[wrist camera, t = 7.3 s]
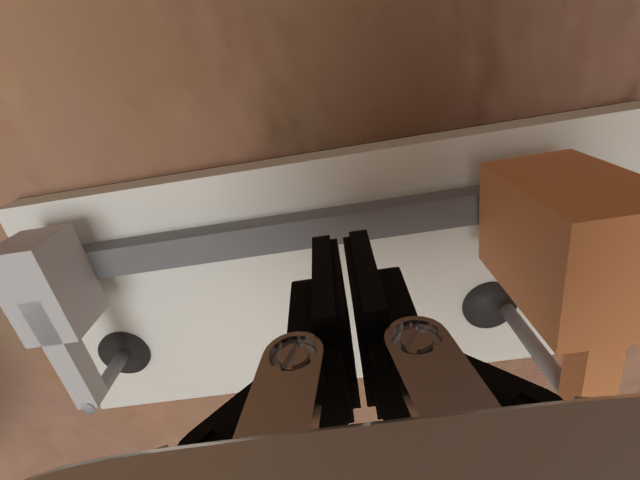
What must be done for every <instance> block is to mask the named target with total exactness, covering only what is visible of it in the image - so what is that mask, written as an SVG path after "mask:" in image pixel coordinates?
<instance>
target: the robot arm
mask: <svg viewBox="0 0 640 480" xmlns="http://www.w3.org/2000/svg"><path fill="white" fill-rule="evenodd" d="M343 243H344V250H345V257H346V264H347V271H348V278H349V285H350V291H351V298H352V305H353V312H354V319H355V325H356V332H357V339H358V346H359V352H360V359H361V366H362V373H363V379H364V386H365V393H366V400H367V406H368V407H371V406H376V411H377V417H378V419H383V420H384V421H375V422H367V423H359V424H350V425H348V424H349V423H353V422H354V414H353V409H354V408H361V405H360V397H359V389H358V382H357V374H356V366H355V358H354V350H353V343H352V335H351V327H350V319H349V312H348V306H347V299H346V293H345V286H344V280H343V273H342V267H341V260H340V254H339V248H338V241H337V238H336V239H330V235H324V236H318V237H312V279H306V280H299V281H293V282H292V284H291V293H290V304H289V315H288V326H287V334H284V335H281V336H279V337H277V338H276V339H274V340H273V341H272V342H271V343H270V344H269V345H268V346H267V347H266V349H265V350H264V352H263V354H262V357H261V360H260V363H259V365H258V368H257V371H256V374H255V377H254V379H253V381H252V382H251V383H250V384H249V385H247V386H246V387H245V388H244V389H242V390H241V391H240V392H239V393H237V394H236V395H235V396H234V397H233V398H231V399H230V400H229V401H228V402H226V403H225V404H224V405H223V406H221V407H220V408H219V409H218V410H216V411H215V412H214V413H213V414H211V415H210V416H209V417H208V418H206V419H205V420H204V421H203V422H202V423H200V424H199V425H198V426H197V427H195V428H194V429H193V430H192V431H190V432H189V433H188V434H187V435H186V436H185V437H184V438H183V439H182V440H181V441H180V442H179V444H178V445H177V446H173V447H169V446H168V445H165V446H162V447H159V448H156V449H151V450H144V451H138V452H132V453H126V454H119V455H113V456H107V457H101V458H95V459H90V460H86V461H82V462H77V463H73V464H69V465H65V466H61V467H58V468H55V469H52V470H49V471H46V472H43V473H40V474H37V475H34V476H32V477H30V478H27V479H25V480H640V393H637V394H624V395H611V396H598V397H580V396H574V399H570V400H564V399H562V398H561V397H560V396H558V395H557V394H555V393H553V392H551V391H549V390H548V389H545V388H543V387H541V386H538V385H536V384H534V383H531V382H529V381H527V380H525V379H522V378H520V377H518V376H515V375H513V374H511V373H508V372H506V371H504V370H501V369H499V368H497V367H494V366H492V365H490V364H488V363H485V362H483V361H481V360H478V359H476V358H474V357H471V356H469V355H467V354H464V353H463V351H462V350H461V349H460V347H459V346H458V344H457V343H456V342H455V340H454V339H453V337H452V336H451V335H450V333H449V332H448V330H447V329H446V328H445V327H444V326H443V325H442V324H441V323H439V322H438V321H436V320H434V319H431V318H428V317H424V316H418V315H417V312H416V309H415V307H414V304H413V302H412V299H411V296H410V294H409V291H408V288H407V286H406V283H405V280H404V278H403V275H402V272H401V270H400V268H399V267H391V268H384V269H377V265H376V262H375V258H374V255H373V251H372V247H371V244H370V240H369V237H368V233H367V230H366V229H365V230H358V231H351V232H349V237H343Z"/></svg>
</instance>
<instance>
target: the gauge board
mask: <svg viewBox="0 0 640 480" xmlns="http://www.w3.org/2000/svg"><path fill="white" fill-rule="evenodd" d="M565 149H574V150H577V151H579V152H582V153H585V154H587V155H590V156H593V157H596V158H598V159H601V160H604V161H606V162H609V163H612V164H615V165H617V166H620V167H623V168H626V169H628V170H631V171H634V172H636V173H639V174H640V101H632V102H626V103H619V104H613V105H607V106H601V107H594V108H588V109H582V110H575V111H569V112H563V113H557V114H550V115H544V116H538V117H531V118H525V119H519V120H513V121H506V122H500V123H494V124H487V125H481V126H475V127H469V128H462V129H456V130H450V131H443V132H437V133H431V134H425V135H418V136H412V137H406V138H399V139H393V140H387V141H381V142H374V143H368V144H362V145H355V146H349V147H343V148H337V149H330V150H324V151H318V152H311V153H305V154H299V155H293V156H286V157H280V158H274V159H267V160H261V161H255V162H248V163H242V164H236V165H230V166H223V167H217V168H211V169H204V170H198V171H192V172H186V173H179V174H173V175H167V176H160V177H154V178H148V179H142V180H135V181H129V182H123V183H116V184H110V185H104V186H98V187H91V188H85V189H79V190H72V191H66V192H60V193H54V194H47V195H41V196H35V197H28V198H22V199H17V200H15V201H13V202H11V203H9V204H6V205H4V206H2V207H0V223H1V225H2V227H3V229H4V230H5V232H6V234H7V236H8V238H7V239H6V240H4V241H2V242H1V243H0V307H1V308H2V310H3V312H4V313H5V315H6V317H7V318H8V320H9V322H10V323H11V325H12V327H13V328H14V330H15V331H16V333H17V335H18V336H19V338H20V340H21V341H22V343H23V345H24V346H25V348H26V349H28V348H36V347H42V349H43V350H44V352H45V354H46V356H47V357H48V359H49V361H50V362H51V364H52V366H53V368H54V369H55V371H56V373H57V374H58V376H59V378H60V380H61V381H62V383H63V385H64V386H65V388H66V390H67V392H68V393H69V395H70V397H71V399H72V400H73V402H74V404H75V405H76V407H77V409H78V410H82V411H83V412H84V413H87V414H93V413H95V412H96V410H97V408H98V407H99V406H101V408H102V409H107V408H115V407H123V406H131V405H140V404H148V403H156V402H164V401H173V400H181V399H189V398H197V397H206V396H214V395H222V394H231V393H239V392H240V391H241V390H242V389H244V388H245V387H246V386H247V385H249V384H250V383H251V382H252V381H253V379H254V377H255V374H256V371H257V368H258V365H259V363H260V360H261V357H262V354H263V352H264V350H265V349H266V347H267V346H268V345H269V344H270V343H271V342H272V341H273V340H274V339H276V338H277V337H279V336H281V335H284V334H287V326H288V315H289V304H290V293H291V284H292V282H293V281H299V280H306V279H312V237H318V236H324V235H330V239H336V238H337V241H338V248H339V254H340V260H341V267H342V273H343V280H344V286H345V293H346V299H347V306H348V312H349V319H350V327H351V335H352V343H353V350H354V358H355V366H356V374H357V378H363V373H362V366H361V359H360V352H359V346H358V339H357V332H356V325H355V319H354V312H353V305H352V298H351V291H350V285H349V278H348V271H347V264H346V257H345V250H344V243H343V237H349V232H351V231H358V230H365V229H366V230H367V233H368V237H369V240H370V244H371V247H372V251H373V255H374V258H375V262H376V265H377V269H384V268H391V267H399V268H400V270H401V272H402V275H403V278H404V280H405V283H406V286H407V288H408V291H409V294H410V296H411V299H412V302H413V304H414V307H415V309H416V312H417V315H418V316H424V317H428V318H431V319H434V320H436V321H438V322H439V323H441V324H442V325H443V326H444V327H445V328H446V329H447V330H448V332H449V333H450V335H451V336H452V337H453V339H454V340H455V342H456V343H457V344H458V346H459V347H460V349H461V350H462V351H463V353H464V354H467V355H469V356H471V357H474V358H476V359H478V360H481V361H483V362H485V363H486V362H495V361H503V360H511V359H519V358H528V357H531V355H530V354H529V352H528V351H527V350H526V348H525V347H524V345H523V344H522V343H521V341H520V340H519V338H518V337H517V335H516V334H515V333H514V331H513V330H512V328H511V327H510V326H509V324H508V323H507V321H506V320H505V319H504V317H503V316H502V314H501V313H500V308H501V307H502V306H503V305H504V304H511V305H513V306H514V308H515V309H516V310H517V312H518V313H519V314H520V316H521V317H522V318H523V319H524V321H525V322H526V323H527V325H528V326H529V327H530V328H531V330H532V331H533V332H534V334H535V335H536V336H537V337H538V339H539V340H540V341H541V343H542V344H543V345H544V346H545V348H546V349H547V350H548V352H549V353H550V354H551V355H552V354H555V353H554V352H553V351H552V350H551V348H550V347H549V346H548V344H547V343H546V342H545V341H544V339H543V338H542V337H541V336H540V334H539V333H538V332H537V331H536V329H535V328H534V327H533V326H532V324H531V323H530V322H529V320H528V319H527V318H526V317H525V315H524V314H523V313H522V312H521V310H520V309H519V308H518V307H517V305H516V304H515V303H514V302H513V300H512V299H511V298H510V297H509V295H508V294H507V293H506V291H505V290H504V289H503V288H502V286H501V285H500V284H499V283H498V281H497V280H496V279H495V278H494V276H493V275H492V274H491V273H490V271H489V270H488V269H487V267H486V266H485V265H484V264H483V262H482V261H481V260H480V259H479V197H480V162H487V161H493V160H500V159H506V158H513V157H519V156H526V155H532V154H539V153H546V152H552V151H559V150H565Z"/></svg>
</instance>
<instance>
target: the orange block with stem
mask: <svg viewBox="0 0 640 480" xmlns="http://www.w3.org/2000/svg"><path fill="white" fill-rule="evenodd" d="M479 259H480V260H481V261H482V262H483V264H484V265H485V266H486V267H487V269H488V270H489V271H490V273H491V274H492V275H493V276H494V278H495V279H496V280H497V281H498V283H499V284H500V285H501V286H502V288H503V289H504V290H505V291H506V293H507V294H508V295H509V297H510V298H511V299H512V300H513V302H514V303H515V304H516V305H517V307H518V308H519V309H520V310H521V312H522V313H523V314H524V315H525V317H526V318H527V319H528V320H529V322H530V323H531V324H532V326H533V327H534V328H535V329H536V331H537V332H538V333H539V334H540V336H541V337H542V338H543V339H544V341H545V342H546V343H547V344H548V346H549V347H550V348H551V350H552V351H553V352H554V353H555V355H560V354H563V361H562V368H561V367H560V366H559V364H558V363H557V362H556V361H555V359H554V358H553V357H552V355H551V354H550V353H549V352H548V350H547V349H546V348H545V346H544V345H543V344H542V343H541V341H540V340H539V339H538V337H537V336H536V335H535V334H534V332H533V331H532V330H531V328H530V327H529V326H528V325H527V323H526V322H525V321H524V319H523V318H522V317H521V316H520V314H519V313H518V312H517V310H516V309H515V308H514V306H513V305H511V304H504V305H503V306H502V307H501V308H500V313H501V314H502V316H503V317H504V319H505V320H506V321H507V323H508V324H509V326H510V327H511V328H512V330H513V331H514V333H515V334H516V335H517V337H518V338H519V340H520V341H521V343H522V344H523V345H524V347H525V348H526V350H527V351H528V352H529V354H530V355H531V357H532V358H533V360H534V361H535V362H536V364H537V365H538V367H539V368H540V369H541V371H542V372H543V374H544V375H545V376H546V378H547V379H548V381H549V382H550V384H551V385H552V386H553V388H554V389H555V391H556V392H557V393H558V396H560V397H561V398H562V399H564V400H570V399H574V396H580V397H598V396H611V395H618V392H619V388H620V383H621V379H622V374H623V370H624V365H625V361H626V356H627V352H628V347H629V346H635V345H640V174H639V173H636V172H634V171H631V170H628V169H626V168H623V167H620V166H617V165H615V164H612V163H609V162H606V161H604V160H601V159H598V158H596V157H593V156H590V155H587V154H585V153H582V152H579V151H577V150H574V149H565V150H559V151H552V152H546V153H539V154H532V155H526V156H519V157H513V158H506V159H500V160H493V161H487V162H480V197H479Z"/></svg>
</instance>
